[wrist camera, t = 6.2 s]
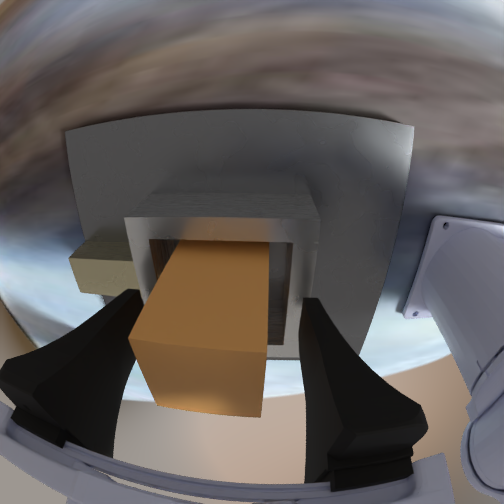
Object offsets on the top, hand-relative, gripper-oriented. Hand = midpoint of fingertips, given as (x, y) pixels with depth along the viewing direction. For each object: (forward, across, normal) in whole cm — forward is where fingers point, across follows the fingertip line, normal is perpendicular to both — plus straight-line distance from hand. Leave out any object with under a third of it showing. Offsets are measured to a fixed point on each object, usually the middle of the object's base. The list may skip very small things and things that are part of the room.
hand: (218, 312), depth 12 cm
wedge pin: (+4, 0, 0) cm, 4 cm away
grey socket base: (+5, 0, 0) cm, 5 cm away
